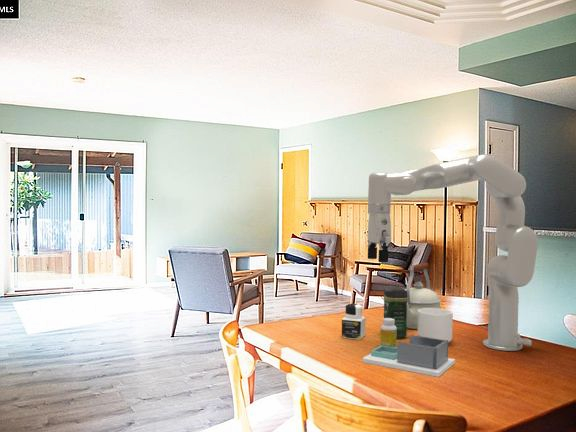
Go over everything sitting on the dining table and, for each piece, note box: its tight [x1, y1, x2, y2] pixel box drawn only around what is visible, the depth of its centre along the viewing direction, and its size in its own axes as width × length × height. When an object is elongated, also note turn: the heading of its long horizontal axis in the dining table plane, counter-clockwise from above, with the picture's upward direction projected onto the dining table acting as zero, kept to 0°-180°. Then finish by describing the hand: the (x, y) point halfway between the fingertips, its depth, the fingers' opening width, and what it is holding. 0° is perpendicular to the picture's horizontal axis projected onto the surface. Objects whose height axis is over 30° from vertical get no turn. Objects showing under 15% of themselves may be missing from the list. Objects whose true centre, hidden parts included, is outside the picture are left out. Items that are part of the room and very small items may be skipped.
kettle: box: [403, 262, 442, 330], centre depth 212 cm, size 25×18×25 cm
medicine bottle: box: [341, 303, 366, 341], centre depth 194 cm, size 7×7×12 cm
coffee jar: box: [383, 285, 408, 340], centre depth 196 cm, size 10×8×19 cm
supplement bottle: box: [379, 317, 397, 348], centre depth 181 cm, size 5×5×10 cm
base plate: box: [361, 345, 456, 378], centre depth 164 cm, size 24×16×3 cm, turn 56°
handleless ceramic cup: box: [417, 308, 454, 344], centre depth 187 cm, size 12×12×11 cm
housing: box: [396, 334, 449, 369], centre depth 161 cm, size 12×11×6 cm
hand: (377, 260), depth 178 cm, fingers open, 9 cm apart
